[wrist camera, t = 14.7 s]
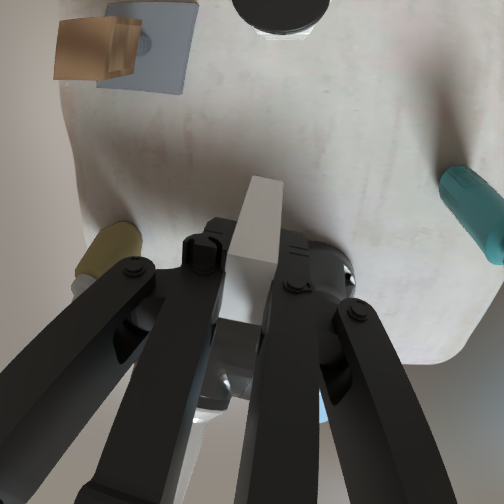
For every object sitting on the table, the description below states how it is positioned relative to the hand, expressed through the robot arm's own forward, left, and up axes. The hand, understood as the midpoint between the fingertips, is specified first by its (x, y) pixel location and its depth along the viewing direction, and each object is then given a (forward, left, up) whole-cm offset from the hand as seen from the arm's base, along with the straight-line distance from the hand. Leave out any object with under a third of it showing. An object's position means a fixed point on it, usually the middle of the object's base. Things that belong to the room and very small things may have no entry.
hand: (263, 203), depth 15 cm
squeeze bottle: (-24, +20, -25) cm, 40 cm away
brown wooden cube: (+6, +19, -17) cm, 26 cm away
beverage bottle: (-1, -25, -25) cm, 36 cm away
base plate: (+6, +19, -25) cm, 32 cm away
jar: (+13, +3, -25) cm, 29 cm away
